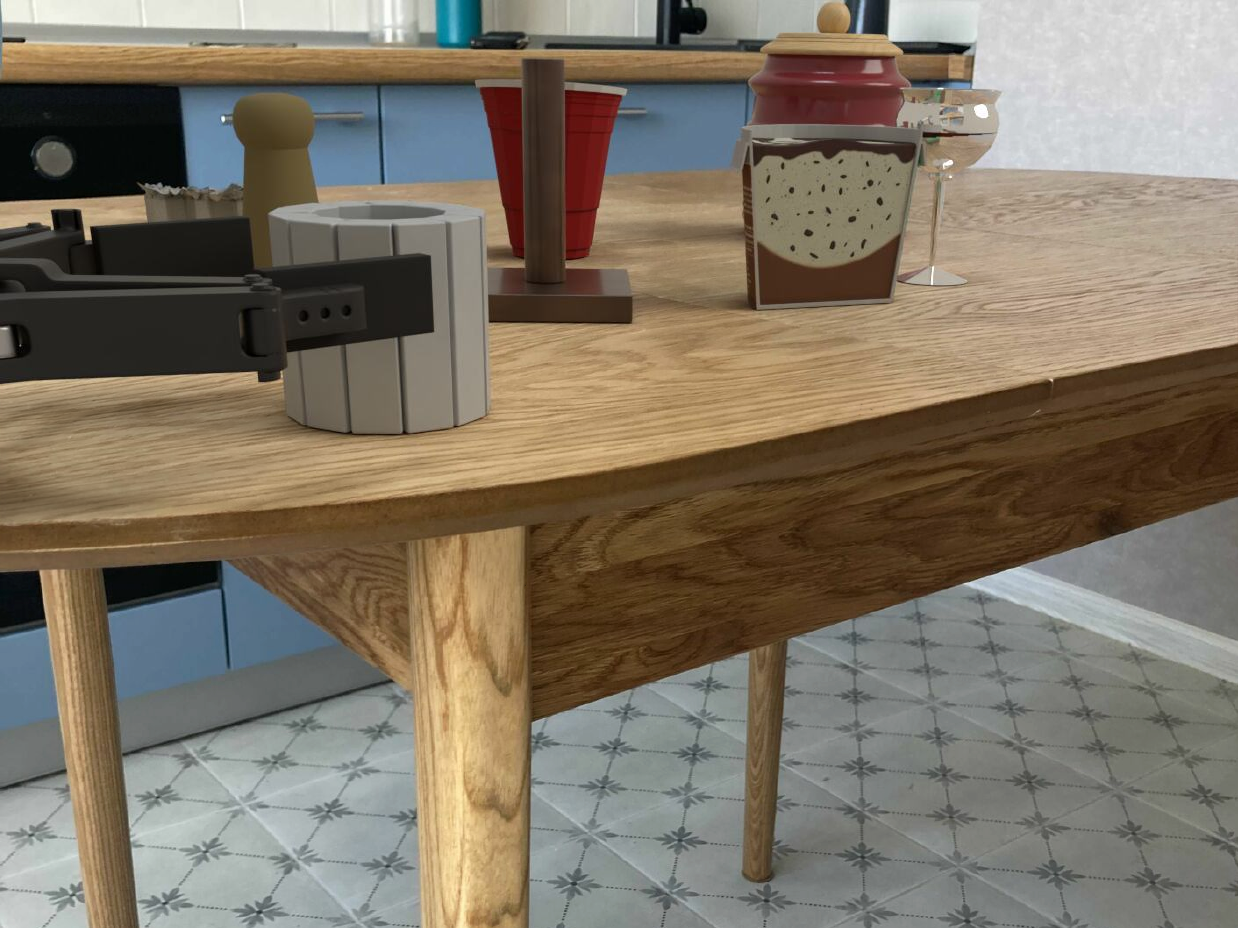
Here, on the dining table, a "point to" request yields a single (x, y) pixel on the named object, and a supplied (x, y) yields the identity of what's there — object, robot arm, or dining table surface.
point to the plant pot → (404, 366)
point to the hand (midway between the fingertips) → (331, 269)
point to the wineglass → (947, 149)
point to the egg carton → (191, 202)
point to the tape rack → (551, 223)
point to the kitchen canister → (828, 77)
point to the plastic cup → (584, 155)
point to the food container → (825, 211)
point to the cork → (273, 161)
